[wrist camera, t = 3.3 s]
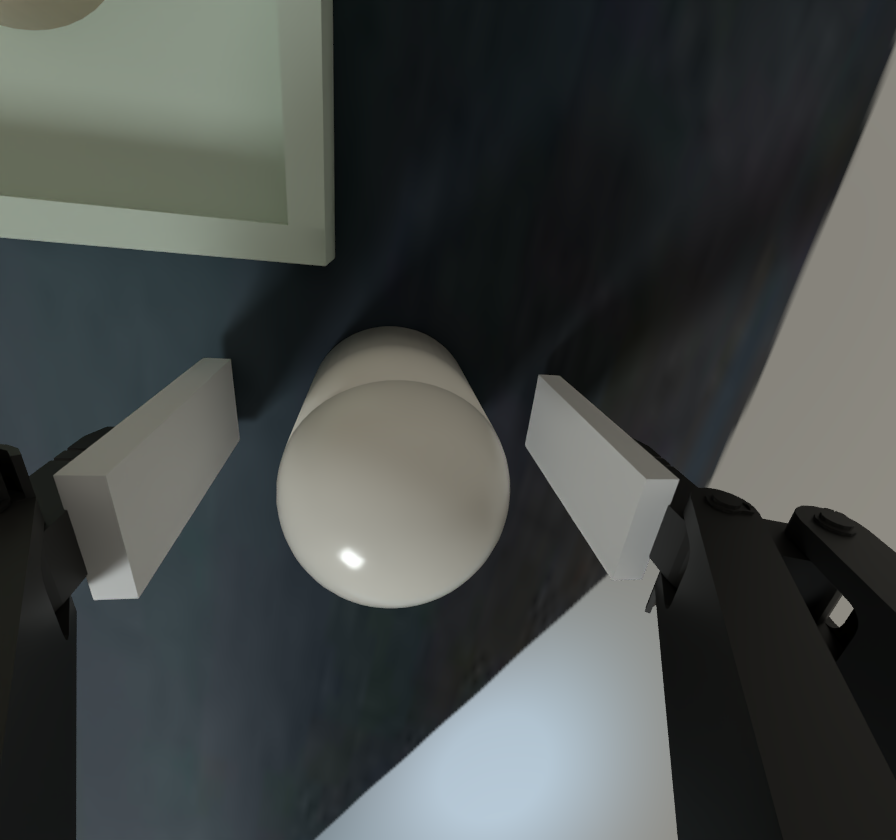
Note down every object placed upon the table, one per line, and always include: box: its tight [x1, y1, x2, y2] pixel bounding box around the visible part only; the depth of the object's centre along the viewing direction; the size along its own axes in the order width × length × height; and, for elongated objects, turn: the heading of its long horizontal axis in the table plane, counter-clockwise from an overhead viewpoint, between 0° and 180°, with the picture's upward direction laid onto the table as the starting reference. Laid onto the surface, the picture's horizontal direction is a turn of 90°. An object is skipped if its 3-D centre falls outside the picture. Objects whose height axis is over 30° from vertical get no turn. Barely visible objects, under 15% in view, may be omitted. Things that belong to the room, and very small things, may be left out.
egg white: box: [277, 326, 510, 608], centre depth 11 cm, size 5×5×8 cm
